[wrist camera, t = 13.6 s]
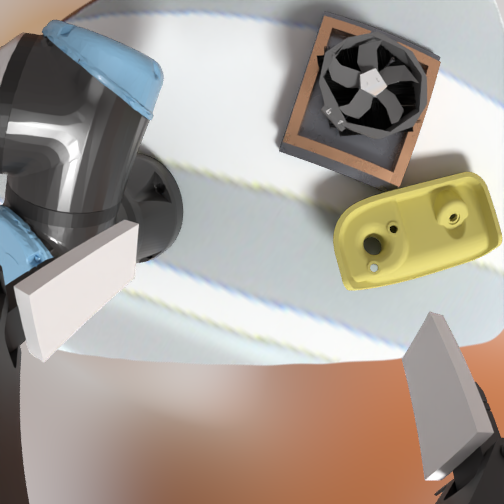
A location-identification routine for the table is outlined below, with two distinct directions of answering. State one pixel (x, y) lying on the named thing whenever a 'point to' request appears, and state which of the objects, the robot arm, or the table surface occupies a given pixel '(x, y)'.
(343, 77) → the cpu cooler
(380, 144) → the board
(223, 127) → the table surface
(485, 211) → the plastic component
